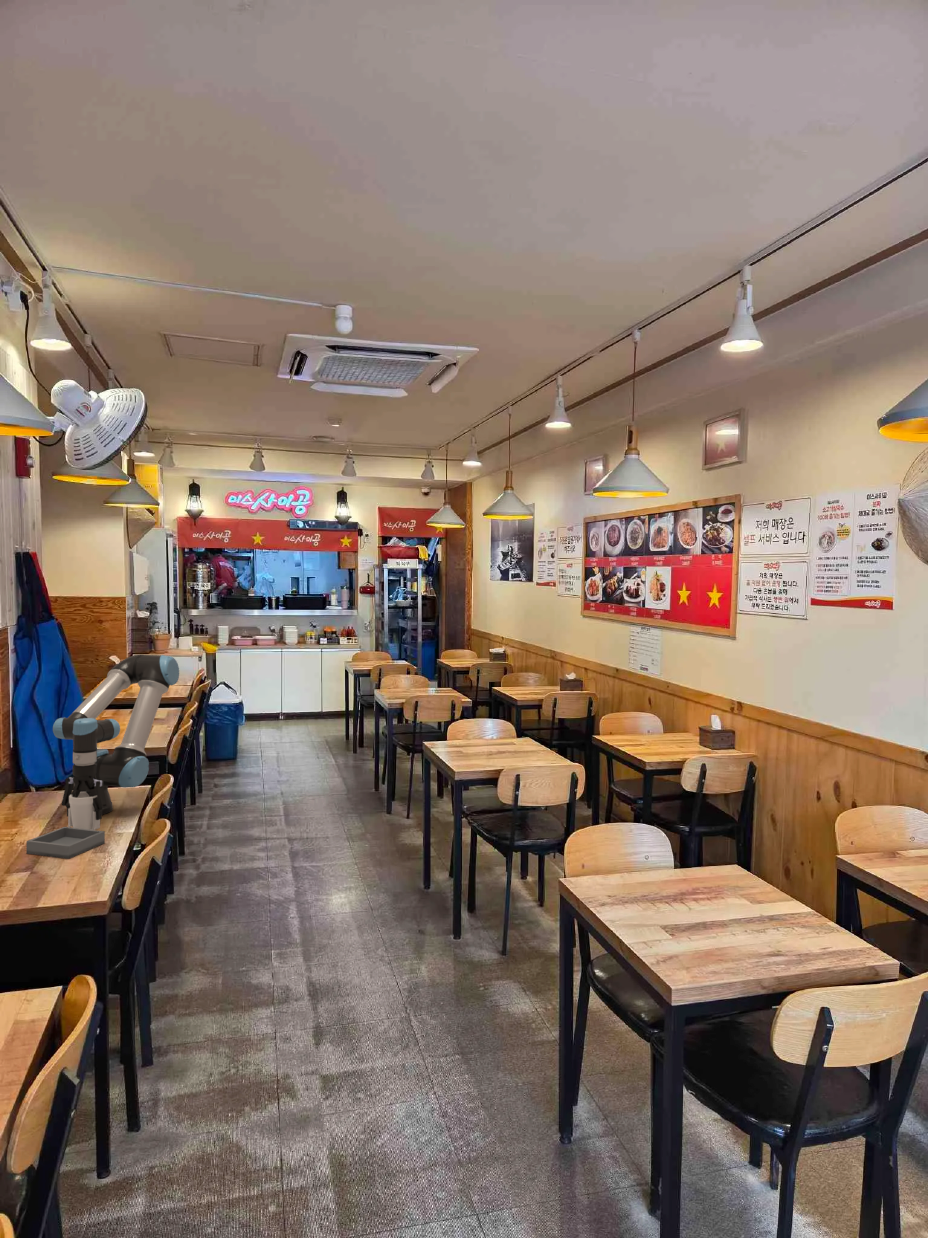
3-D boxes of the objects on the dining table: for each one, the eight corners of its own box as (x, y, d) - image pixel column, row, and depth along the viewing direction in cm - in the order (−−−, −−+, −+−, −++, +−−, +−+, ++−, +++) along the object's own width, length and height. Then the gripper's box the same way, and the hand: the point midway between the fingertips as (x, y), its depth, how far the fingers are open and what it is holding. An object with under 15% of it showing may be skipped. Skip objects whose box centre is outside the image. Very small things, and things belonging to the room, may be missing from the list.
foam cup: (104, 830, 267) (105, 793, 267) (81, 837, 259) (82, 799, 258) (86, 826, 271) (86, 790, 271) (62, 833, 263) (63, 796, 262)
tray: (64, 838, 257) (64, 826, 257) (104, 843, 253) (104, 831, 253) (26, 853, 242) (26, 841, 242) (68, 859, 238) (68, 846, 238)
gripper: (50, 763, 263) (49, 827, 264) (104, 768, 258) (103, 833, 258) (66, 758, 270) (65, 821, 271) (119, 763, 265) (118, 827, 266)
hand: (84, 827), depth 265 cm, fingers closed on foam cup, 9 cm apart
